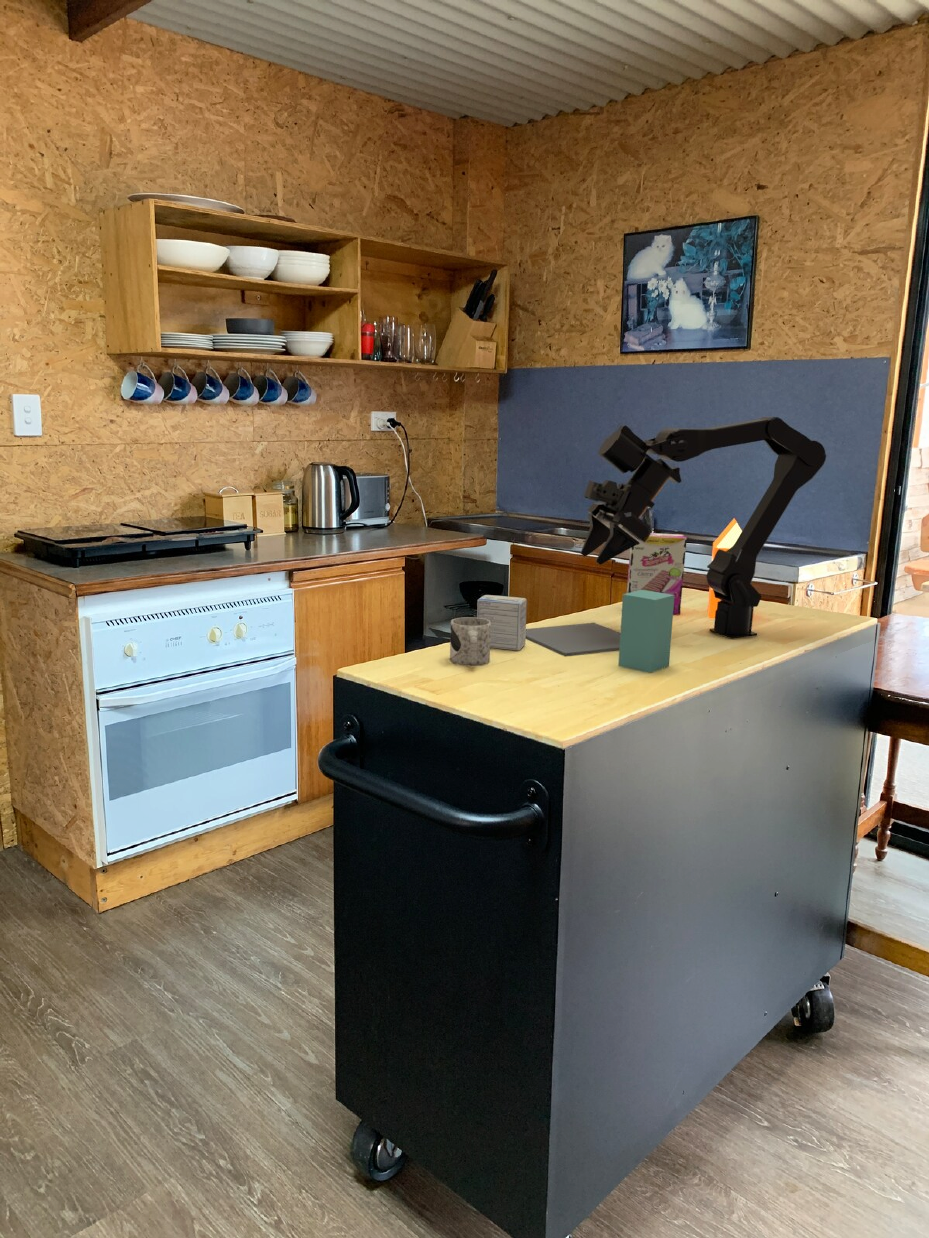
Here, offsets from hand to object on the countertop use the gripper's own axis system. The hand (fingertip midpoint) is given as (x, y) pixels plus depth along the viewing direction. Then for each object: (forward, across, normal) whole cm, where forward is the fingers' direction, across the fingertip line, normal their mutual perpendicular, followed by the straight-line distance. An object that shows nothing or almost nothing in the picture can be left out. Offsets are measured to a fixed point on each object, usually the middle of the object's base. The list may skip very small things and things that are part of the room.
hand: (590, 559), depth 169 cm
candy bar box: (0, -20, +26) cm, 33 cm away
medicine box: (+22, +5, -6) cm, 23 cm away
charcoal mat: (+13, +2, +7) cm, 15 cm away
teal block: (+10, +20, +12) cm, 25 cm away
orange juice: (-8, -16, +38) cm, 42 cm away
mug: (+26, +16, -12) cm, 33 cm away
